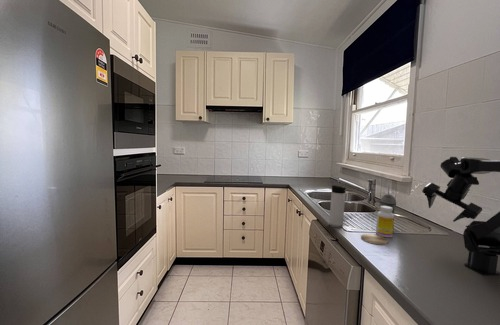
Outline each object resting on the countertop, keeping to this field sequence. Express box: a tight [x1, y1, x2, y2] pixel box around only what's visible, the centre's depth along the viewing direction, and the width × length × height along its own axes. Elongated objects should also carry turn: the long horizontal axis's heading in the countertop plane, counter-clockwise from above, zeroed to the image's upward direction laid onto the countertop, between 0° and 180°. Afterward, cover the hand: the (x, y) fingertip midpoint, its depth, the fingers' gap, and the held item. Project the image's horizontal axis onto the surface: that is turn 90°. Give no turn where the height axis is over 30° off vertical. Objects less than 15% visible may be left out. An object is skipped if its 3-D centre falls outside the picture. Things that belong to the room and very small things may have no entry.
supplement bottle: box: [375, 206, 395, 238], centre depth 109 cm, size 7×7×13 cm
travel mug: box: [328, 184, 346, 229], centre depth 119 cm, size 6×7×20 cm
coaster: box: [360, 233, 389, 246], centre depth 104 cm, size 10×10×1 cm
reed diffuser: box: [379, 185, 397, 214], centre depth 123 cm, size 7×7×20 cm
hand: (441, 214), depth 102 cm, fingers open, 9 cm apart
